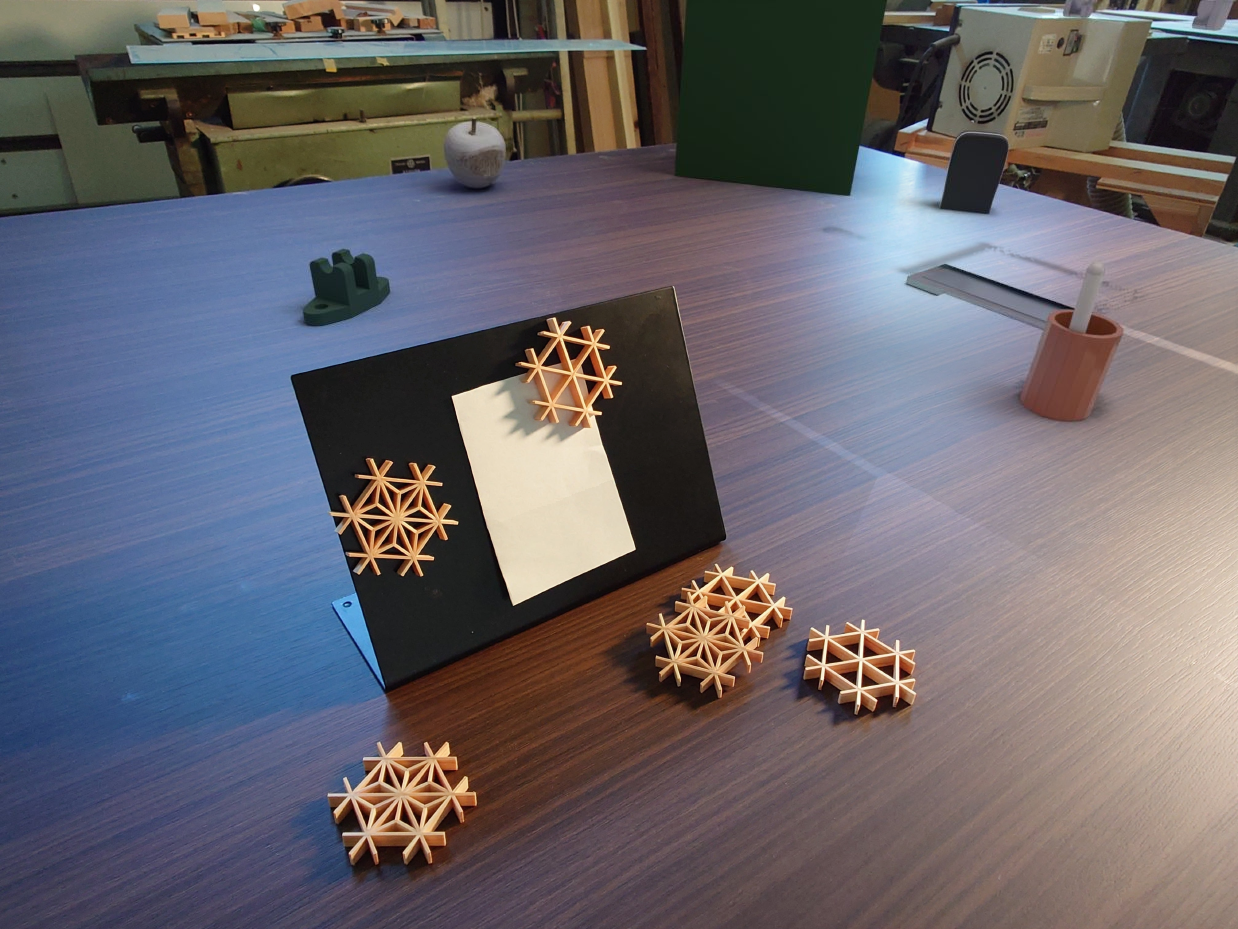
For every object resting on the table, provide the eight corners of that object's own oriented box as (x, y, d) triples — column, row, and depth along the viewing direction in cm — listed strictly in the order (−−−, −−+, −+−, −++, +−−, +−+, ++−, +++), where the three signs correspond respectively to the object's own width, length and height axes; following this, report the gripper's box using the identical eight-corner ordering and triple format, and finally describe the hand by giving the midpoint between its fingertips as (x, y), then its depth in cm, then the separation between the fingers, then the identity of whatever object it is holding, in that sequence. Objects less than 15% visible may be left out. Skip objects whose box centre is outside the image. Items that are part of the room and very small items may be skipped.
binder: (673, 176, 127) (689, -68, 109) (692, 155, 138) (710, -69, 121) (850, 195, 121) (898, -60, 103) (854, 171, 133) (898, -61, 115)
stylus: (1064, 403, 68) (1110, 263, 59) (1056, 410, 67) (1101, 269, 58) (1050, 397, 69) (1094, 257, 60) (1043, 404, 68) (1085, 264, 59)
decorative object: (480, 176, 124) (475, 105, 118) (519, 187, 119) (517, 115, 113) (434, 187, 118) (427, 113, 112) (473, 199, 113) (468, 124, 108)
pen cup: (1099, 414, 68) (1136, 327, 63) (1066, 434, 65) (1103, 343, 61) (1038, 389, 71) (1069, 304, 67) (1005, 406, 69) (1035, 319, 64)
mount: (369, 284, 87) (362, 238, 84) (402, 292, 85) (396, 245, 82) (292, 320, 79) (281, 270, 76) (326, 330, 77) (317, 279, 74)
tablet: (1132, 305, 88) (1135, 296, 88) (1057, 340, 80) (1060, 331, 79) (983, 256, 100) (986, 249, 99) (905, 283, 92) (907, 274, 91)
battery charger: (986, 216, 114) (1011, 130, 108) (988, 224, 111) (1013, 136, 104) (934, 211, 116) (956, 126, 109) (935, 218, 112) (957, 131, 106)
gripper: (1433, -229, 48) (1315, 35, 55) (1088, -201, 61) (1032, 9, 68) (1402, -243, 44) (1281, 40, 52) (1045, -209, 57) (991, 12, 65)
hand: (1137, 23), depth 60 cm, fingers open, 8 cm apart
